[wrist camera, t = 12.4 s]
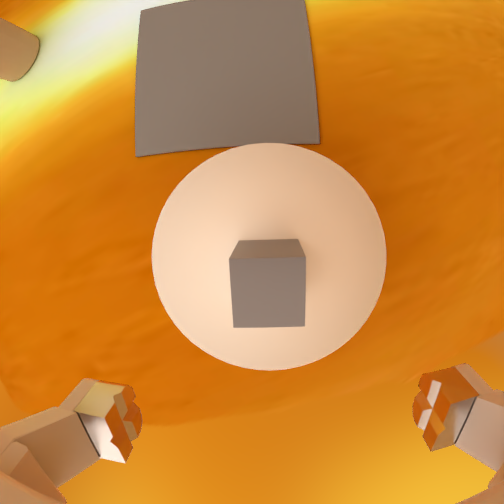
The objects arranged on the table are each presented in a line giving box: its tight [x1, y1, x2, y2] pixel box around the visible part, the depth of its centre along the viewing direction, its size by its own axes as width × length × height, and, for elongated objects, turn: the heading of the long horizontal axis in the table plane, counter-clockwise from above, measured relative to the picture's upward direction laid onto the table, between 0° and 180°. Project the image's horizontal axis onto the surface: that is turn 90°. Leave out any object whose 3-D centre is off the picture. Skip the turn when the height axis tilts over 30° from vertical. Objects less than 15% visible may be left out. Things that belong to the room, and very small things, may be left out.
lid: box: [152, 143, 386, 370], centre depth 19 cm, size 17×17×6 cm
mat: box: [135, 0, 320, 157], centre depth 29 cm, size 20×20×1 cm
